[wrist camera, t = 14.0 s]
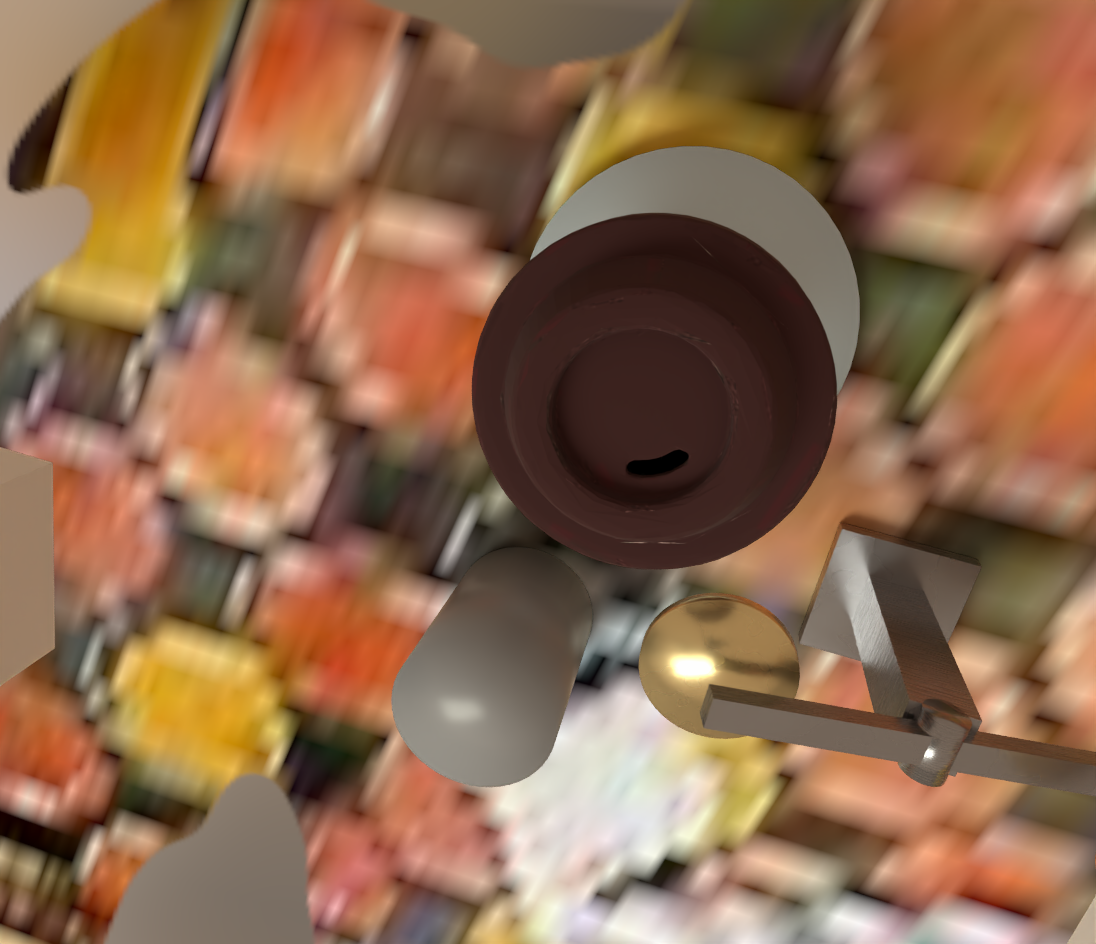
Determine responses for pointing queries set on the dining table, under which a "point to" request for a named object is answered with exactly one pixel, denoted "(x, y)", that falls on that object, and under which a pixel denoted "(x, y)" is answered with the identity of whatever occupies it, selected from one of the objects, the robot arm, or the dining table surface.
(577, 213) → the pale grey round disc
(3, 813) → the dining table surface
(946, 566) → the balance
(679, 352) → the coffee cup
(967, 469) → the dining table surface
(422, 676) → the grey rounded capsule
